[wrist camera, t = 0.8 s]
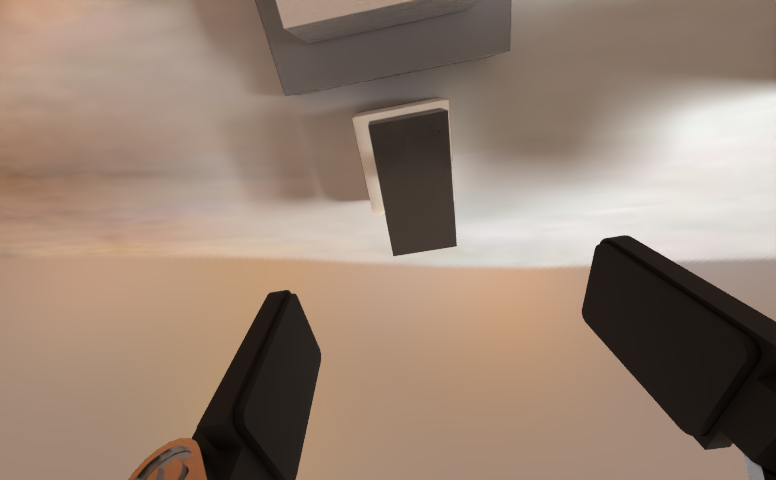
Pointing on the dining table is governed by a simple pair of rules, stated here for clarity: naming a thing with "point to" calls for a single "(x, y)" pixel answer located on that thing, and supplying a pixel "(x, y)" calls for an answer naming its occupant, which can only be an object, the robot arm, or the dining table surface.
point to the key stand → (366, 147)
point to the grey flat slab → (385, 47)
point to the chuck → (358, 15)
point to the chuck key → (415, 179)
